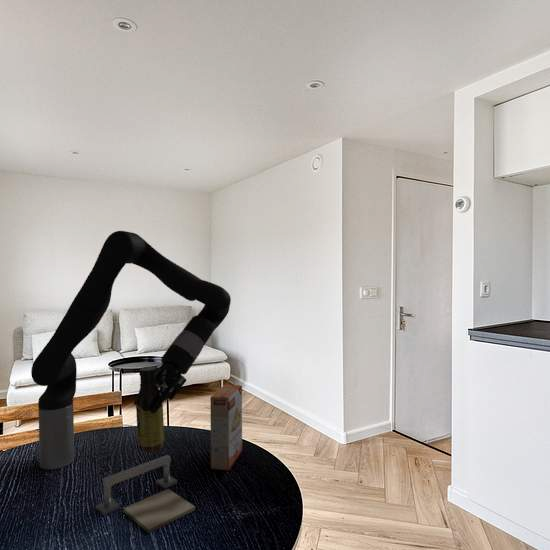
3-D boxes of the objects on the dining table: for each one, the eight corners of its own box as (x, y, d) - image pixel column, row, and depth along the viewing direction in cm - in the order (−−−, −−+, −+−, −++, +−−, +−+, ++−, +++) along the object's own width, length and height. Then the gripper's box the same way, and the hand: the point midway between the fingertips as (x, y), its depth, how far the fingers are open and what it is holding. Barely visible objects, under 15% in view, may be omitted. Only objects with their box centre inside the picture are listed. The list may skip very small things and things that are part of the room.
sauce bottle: (142, 443, 105) (139, 365, 105) (167, 442, 105) (164, 364, 105) (134, 454, 99) (130, 371, 99) (160, 453, 99) (157, 370, 99)
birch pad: (123, 511, 98) (123, 508, 98) (168, 491, 107) (168, 488, 107) (148, 533, 90) (148, 529, 90) (195, 510, 99) (195, 506, 99)
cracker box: (230, 471, 117) (229, 397, 117) (209, 470, 119) (208, 396, 118) (243, 450, 131) (242, 384, 131) (225, 449, 132) (224, 383, 132)
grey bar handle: (95, 508, 100) (95, 478, 100) (169, 478, 114) (169, 451, 114) (102, 515, 97) (102, 484, 97) (177, 483, 111) (177, 456, 111)
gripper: (159, 340, 112) (118, 394, 104) (190, 346, 102) (148, 406, 94) (177, 356, 116) (139, 410, 108) (208, 363, 106) (169, 423, 98)
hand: (143, 408), depth 101 cm, fingers closed on sauce bottle, 6 cm apart
